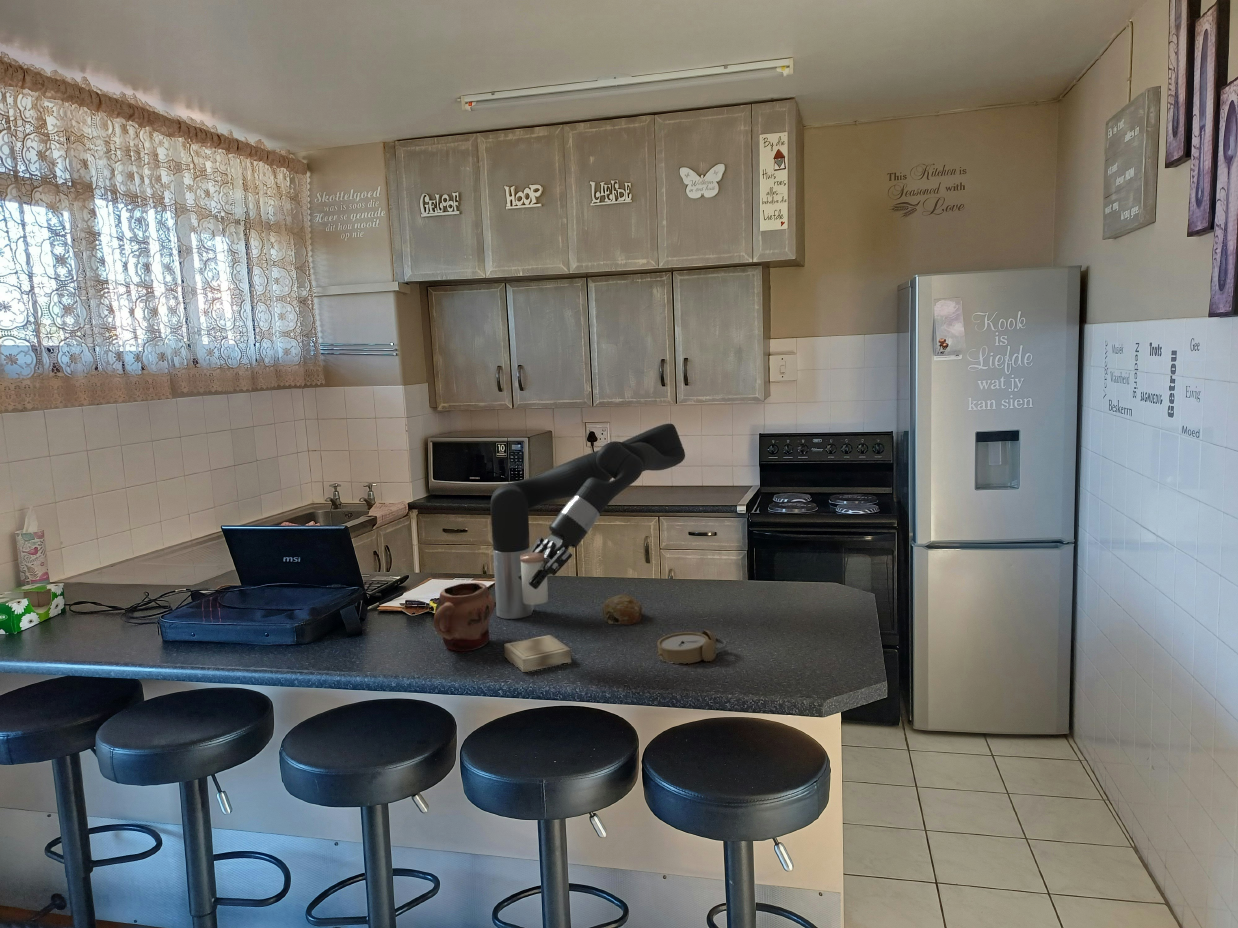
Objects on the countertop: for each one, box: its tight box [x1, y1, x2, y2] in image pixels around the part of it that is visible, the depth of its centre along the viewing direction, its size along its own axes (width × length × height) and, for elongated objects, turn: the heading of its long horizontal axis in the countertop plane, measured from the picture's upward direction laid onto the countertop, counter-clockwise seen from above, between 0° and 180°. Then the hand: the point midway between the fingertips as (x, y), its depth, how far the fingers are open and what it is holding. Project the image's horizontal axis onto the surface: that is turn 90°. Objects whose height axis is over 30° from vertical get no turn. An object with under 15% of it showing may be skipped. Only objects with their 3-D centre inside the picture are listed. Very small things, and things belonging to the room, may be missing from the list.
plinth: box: [504, 634, 572, 673], centre depth 182 cm, size 11×11×3 cm
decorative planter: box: [433, 581, 496, 652], centre depth 191 cm, size 20×12×14 cm, turn 161°
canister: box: [520, 552, 549, 606], centre depth 180 cm, size 6×6×10 cm
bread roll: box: [602, 593, 643, 626], centre depth 208 cm, size 10×10×8 cm
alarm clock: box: [656, 630, 727, 664], centre depth 182 cm, size 11×5×15 cm
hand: (526, 583), depth 179 cm, fingers closed on canister, 5 cm apart
